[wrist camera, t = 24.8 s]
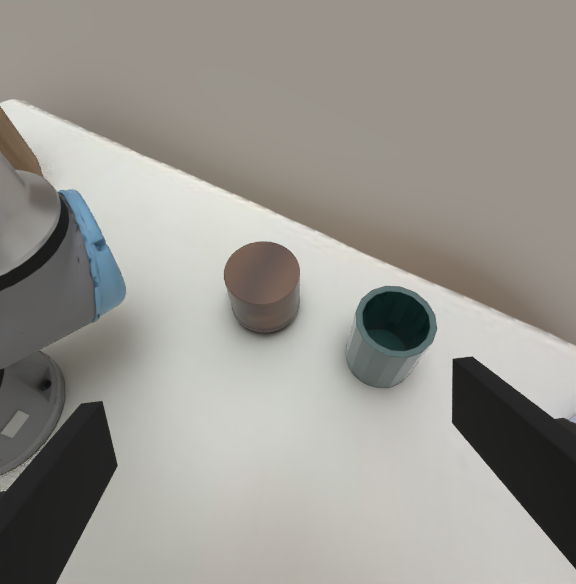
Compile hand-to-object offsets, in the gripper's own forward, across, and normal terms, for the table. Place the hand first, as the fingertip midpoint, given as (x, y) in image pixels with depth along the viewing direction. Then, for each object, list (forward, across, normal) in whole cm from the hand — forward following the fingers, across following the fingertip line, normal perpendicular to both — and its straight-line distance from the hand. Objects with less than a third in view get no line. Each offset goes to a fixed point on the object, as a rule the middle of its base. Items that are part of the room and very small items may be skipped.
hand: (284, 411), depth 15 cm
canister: (+32, +13, -13) cm, 37 cm away
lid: (+38, -1, -7) cm, 39 cm away
